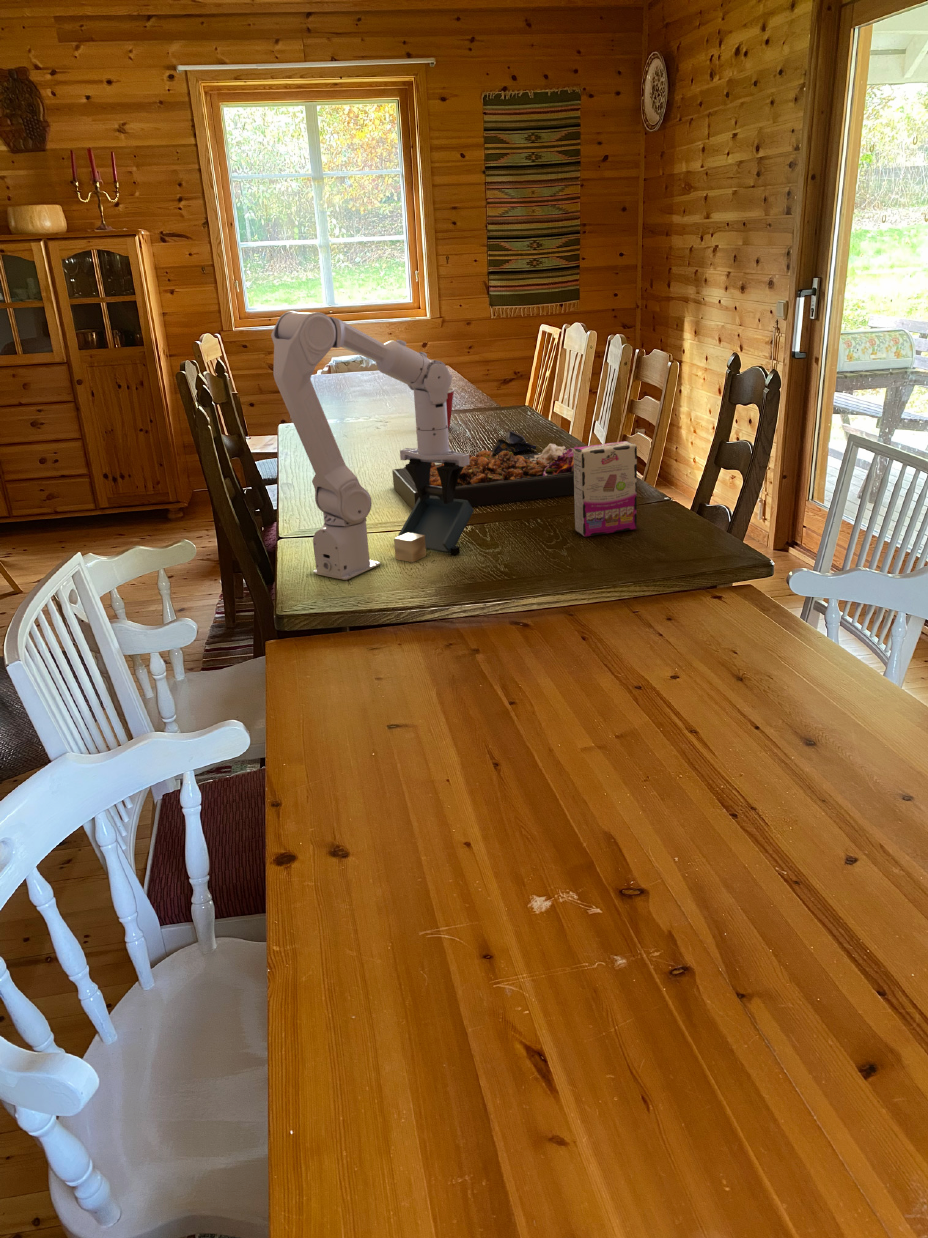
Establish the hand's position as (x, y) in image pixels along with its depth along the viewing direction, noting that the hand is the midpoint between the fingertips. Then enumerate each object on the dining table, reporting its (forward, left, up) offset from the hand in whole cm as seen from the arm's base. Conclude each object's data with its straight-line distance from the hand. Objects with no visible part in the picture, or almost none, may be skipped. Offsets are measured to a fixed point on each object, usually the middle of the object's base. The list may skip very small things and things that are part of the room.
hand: (436, 500), depth 171 cm
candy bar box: (+21, -24, -9) cm, 33 cm away
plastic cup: (+96, +72, -9) cm, 121 cm away
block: (-9, 0, -5) cm, 10 cm away
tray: (0, 0, -5) cm, 5 cm away
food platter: (+40, +13, -9) cm, 43 cm away
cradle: (-4, 0, -9) cm, 9 cm away
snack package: (+75, +31, -9) cm, 82 cm away
